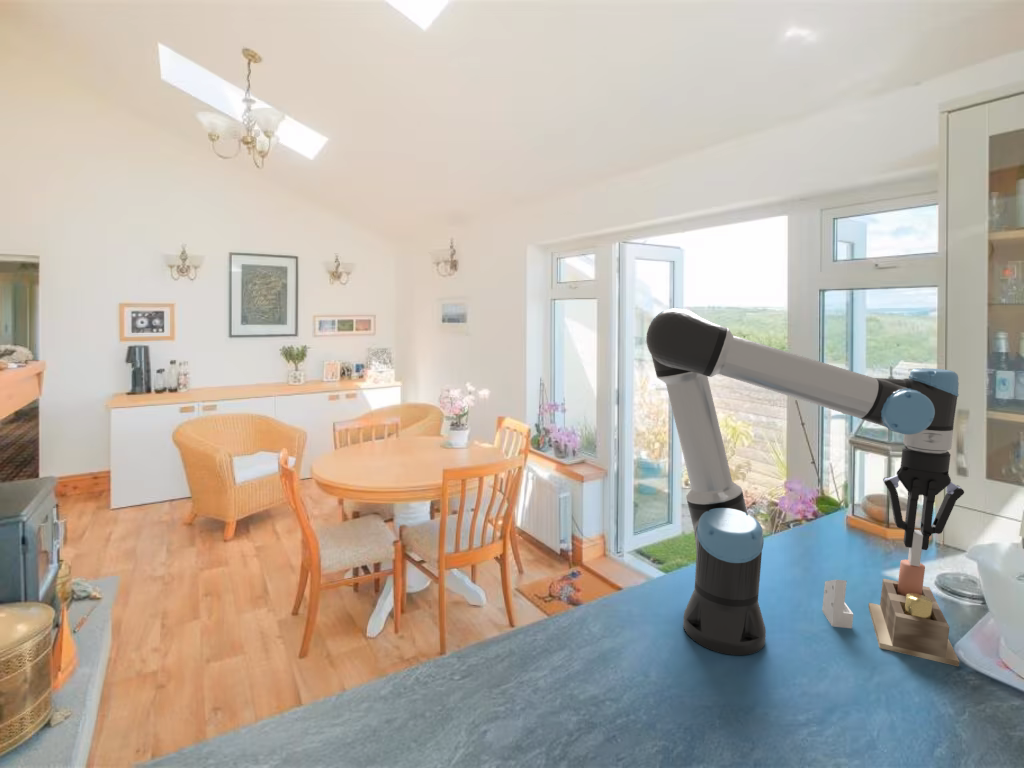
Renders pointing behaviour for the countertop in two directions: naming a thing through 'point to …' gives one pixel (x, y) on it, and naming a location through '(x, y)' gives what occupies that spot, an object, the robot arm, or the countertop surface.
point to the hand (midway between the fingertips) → (913, 563)
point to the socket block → (911, 627)
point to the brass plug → (918, 606)
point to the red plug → (910, 578)
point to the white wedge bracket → (836, 604)
